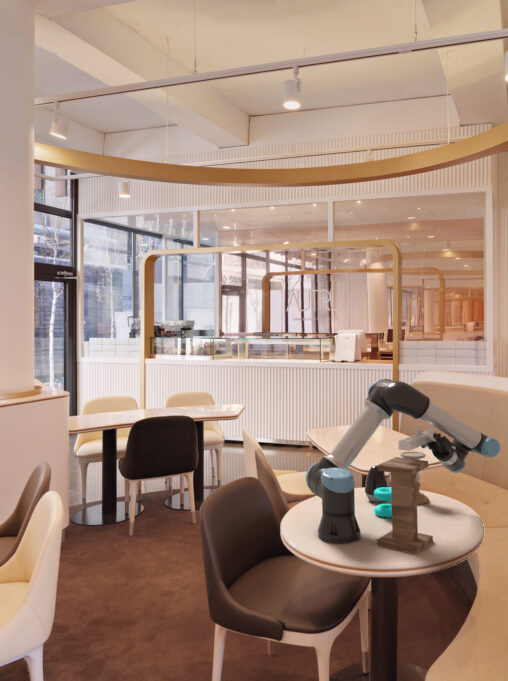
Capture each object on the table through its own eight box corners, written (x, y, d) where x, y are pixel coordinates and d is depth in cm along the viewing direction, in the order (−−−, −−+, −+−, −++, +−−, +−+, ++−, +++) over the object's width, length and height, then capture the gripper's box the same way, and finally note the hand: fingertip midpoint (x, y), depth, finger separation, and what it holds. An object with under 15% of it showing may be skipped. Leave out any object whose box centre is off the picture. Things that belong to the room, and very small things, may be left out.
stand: (416, 554, 188) (414, 469, 188) (377, 545, 197) (375, 464, 197) (432, 541, 199) (431, 461, 199) (395, 533, 208) (393, 456, 208)
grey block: (409, 450, 197) (409, 442, 197) (398, 449, 200) (398, 440, 200) (436, 439, 216) (436, 431, 216) (426, 438, 218) (426, 430, 218)
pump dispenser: (379, 505, 241) (378, 469, 241) (360, 500, 249) (359, 465, 249) (394, 500, 248) (393, 465, 248) (374, 495, 256) (373, 461, 256)
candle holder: (408, 506, 240) (407, 458, 239) (394, 497, 252) (393, 452, 251) (434, 503, 243) (433, 455, 242) (419, 495, 255) (418, 450, 254)
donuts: (369, 487, 233) (392, 485, 235) (370, 512, 233) (392, 509, 235) (380, 494, 223) (403, 491, 226) (381, 519, 223) (404, 517, 226)
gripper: (464, 464, 220) (444, 442, 204) (422, 459, 231) (399, 438, 215) (467, 445, 223) (447, 423, 207) (425, 441, 234) (403, 419, 218)
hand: (423, 430), depth 211 cm, fingers closed on grey block, 4 cm apart
